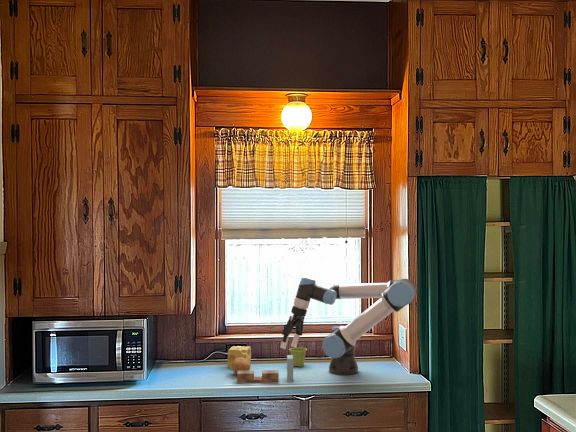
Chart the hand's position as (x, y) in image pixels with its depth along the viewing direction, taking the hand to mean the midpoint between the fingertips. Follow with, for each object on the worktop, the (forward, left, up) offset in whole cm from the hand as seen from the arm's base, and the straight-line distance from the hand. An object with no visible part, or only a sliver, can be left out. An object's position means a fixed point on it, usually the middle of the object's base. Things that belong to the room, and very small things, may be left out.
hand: (288, 347), depth 332 cm
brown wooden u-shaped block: (+13, +13, -14) cm, 23 cm away
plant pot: (-2, -22, -14) cm, 26 cm away
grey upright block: (-2, +7, -14) cm, 16 cm away
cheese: (+29, -16, -14) cm, 36 cm away
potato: (+24, +1, -14) cm, 28 cm away
